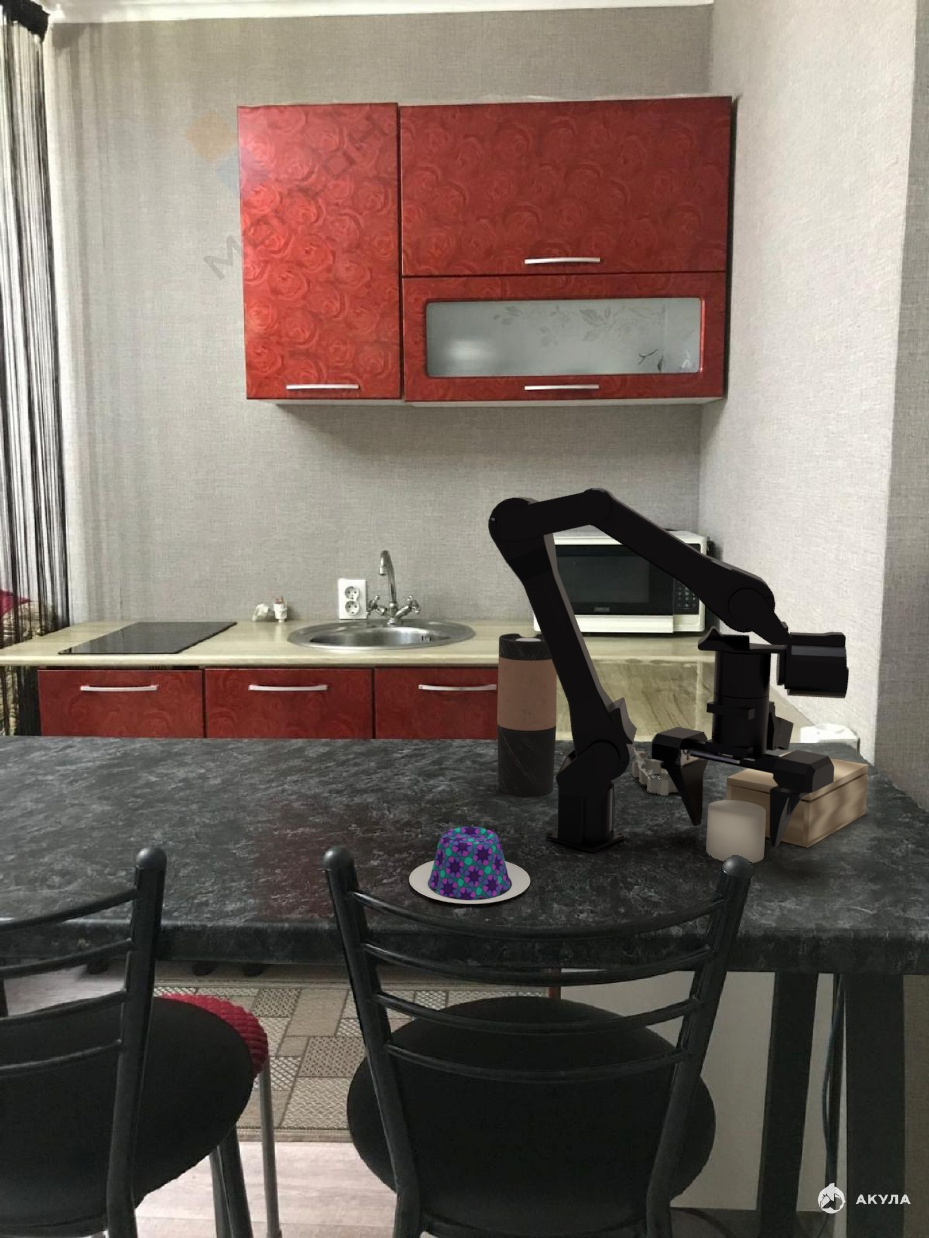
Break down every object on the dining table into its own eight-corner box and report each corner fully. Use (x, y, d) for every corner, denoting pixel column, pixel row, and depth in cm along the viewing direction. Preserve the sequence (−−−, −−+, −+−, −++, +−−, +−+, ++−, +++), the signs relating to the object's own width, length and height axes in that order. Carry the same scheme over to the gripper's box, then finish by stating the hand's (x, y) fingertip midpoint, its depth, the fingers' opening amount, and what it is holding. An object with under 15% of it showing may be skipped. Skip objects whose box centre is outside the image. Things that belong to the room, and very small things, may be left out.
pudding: (553, 897, 96) (554, 845, 95) (440, 920, 90) (440, 865, 90) (494, 856, 106) (494, 808, 106) (390, 874, 101) (390, 824, 100)
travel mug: (525, 801, 124) (528, 643, 121) (484, 787, 130) (485, 636, 127) (567, 789, 129) (570, 637, 126) (525, 776, 135) (528, 630, 132)
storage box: (807, 847, 108) (810, 803, 108) (725, 826, 115) (726, 784, 115) (865, 813, 120) (867, 773, 119) (787, 795, 127) (789, 758, 126)
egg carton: (628, 774, 137) (628, 745, 137) (681, 773, 138) (682, 745, 137) (646, 797, 127) (647, 766, 126) (704, 796, 127) (705, 765, 127)
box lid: (810, 800, 108) (810, 793, 108) (726, 784, 115) (726, 777, 114) (867, 771, 119) (868, 764, 119) (788, 757, 126) (789, 751, 126)
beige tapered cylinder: (747, 868, 103) (749, 821, 102) (695, 853, 107) (697, 808, 106) (773, 853, 107) (776, 808, 106) (723, 839, 111) (725, 796, 110)
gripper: (859, 695, 104) (851, 838, 106) (701, 671, 117) (696, 799, 119) (814, 711, 96) (805, 866, 98) (649, 684, 109) (645, 821, 111)
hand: (734, 835), depth 107 cm, fingers open, 9 cm apart
